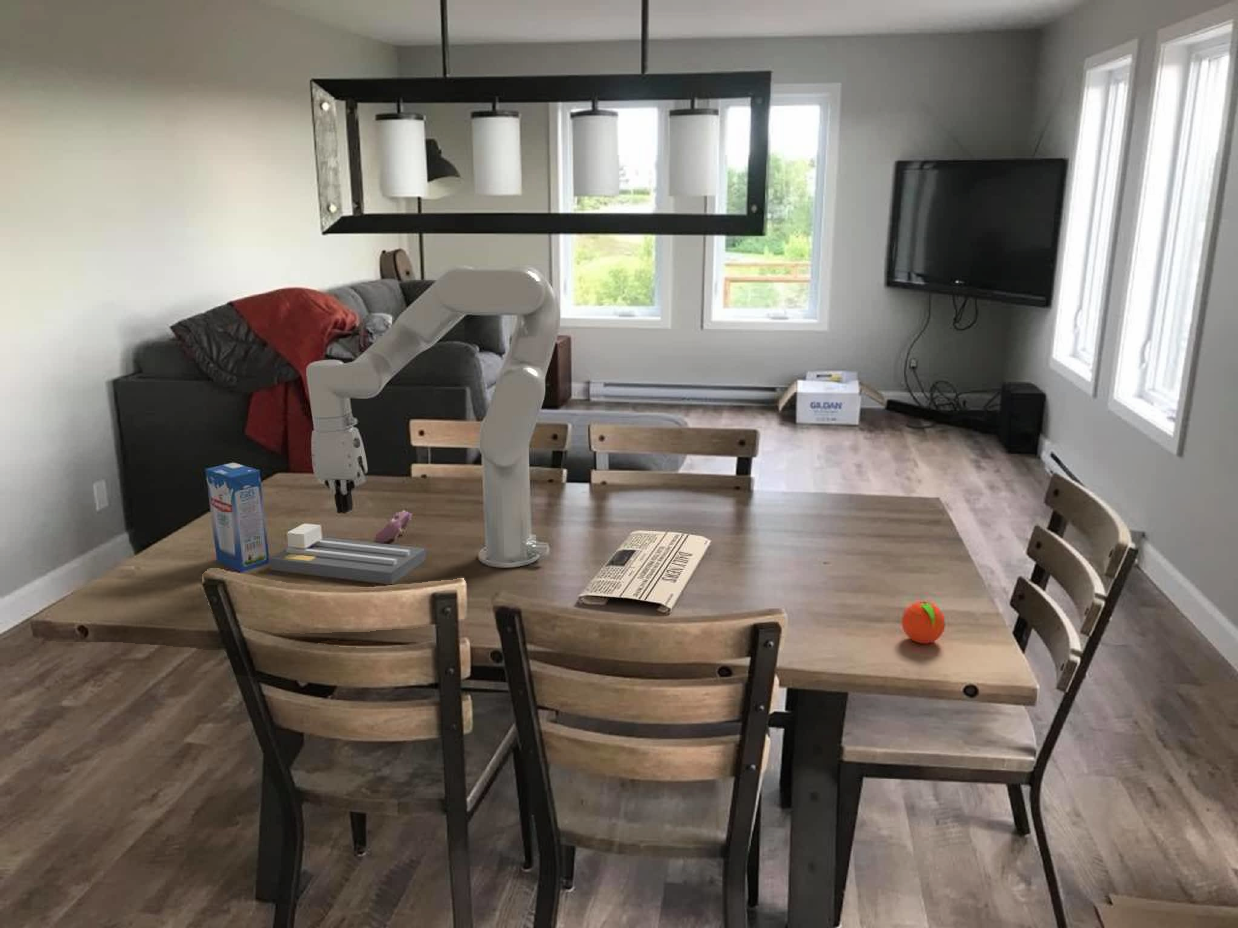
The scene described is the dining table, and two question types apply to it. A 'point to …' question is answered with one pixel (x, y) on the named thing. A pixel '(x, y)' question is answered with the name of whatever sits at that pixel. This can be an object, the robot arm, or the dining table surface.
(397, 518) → the video game controller
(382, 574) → the fader console
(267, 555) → the milk carton
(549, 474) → the dining table surface
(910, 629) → the clementine
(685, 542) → the newspaper
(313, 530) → the fader knob
